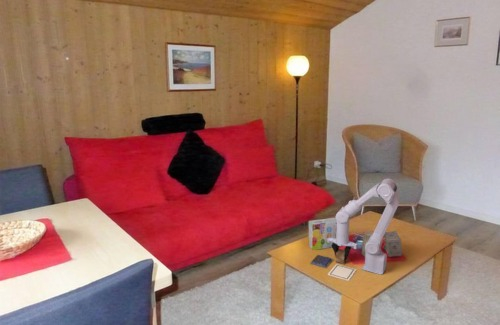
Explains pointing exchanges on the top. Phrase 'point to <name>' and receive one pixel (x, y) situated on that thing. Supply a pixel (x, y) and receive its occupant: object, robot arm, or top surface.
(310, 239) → the snack box
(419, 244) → the top surface
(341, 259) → the walnut stamp
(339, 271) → the marked card
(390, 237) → the incense holder
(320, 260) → the ink pad
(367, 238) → the skincare box
